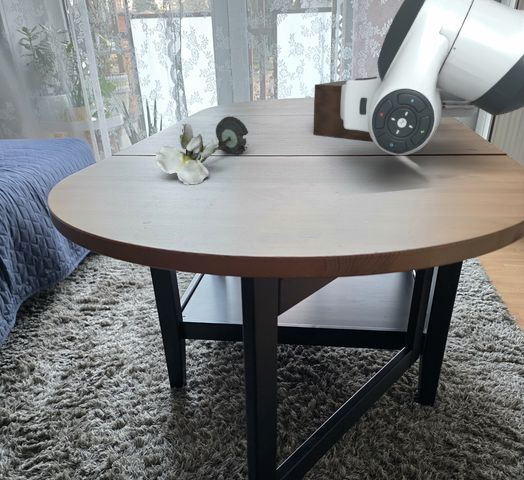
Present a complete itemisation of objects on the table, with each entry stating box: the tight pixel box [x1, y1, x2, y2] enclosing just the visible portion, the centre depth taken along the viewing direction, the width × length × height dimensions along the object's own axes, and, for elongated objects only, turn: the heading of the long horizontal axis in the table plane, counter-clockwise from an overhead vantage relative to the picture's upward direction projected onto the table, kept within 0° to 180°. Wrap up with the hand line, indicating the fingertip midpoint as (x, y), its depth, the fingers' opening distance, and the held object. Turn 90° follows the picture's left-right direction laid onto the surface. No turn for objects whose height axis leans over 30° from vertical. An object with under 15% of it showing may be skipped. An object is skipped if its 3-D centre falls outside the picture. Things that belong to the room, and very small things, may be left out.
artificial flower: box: [155, 115, 249, 186], centre depth 82 cm, size 9×22×10 cm, turn 155°
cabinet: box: [312, 79, 374, 143], centre depth 106 cm, size 15×13×10 cm
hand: (409, 94), depth 81 cm, fingers closed on soda can, 5 cm apart
